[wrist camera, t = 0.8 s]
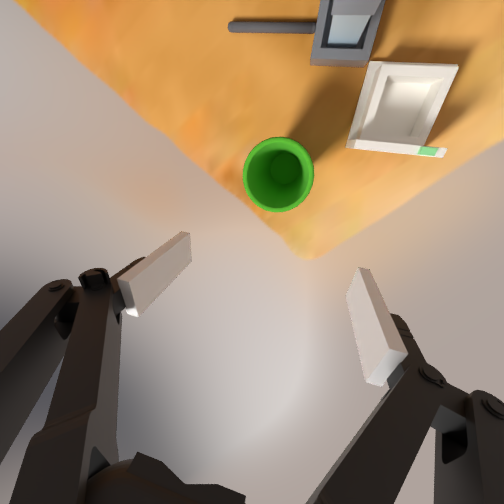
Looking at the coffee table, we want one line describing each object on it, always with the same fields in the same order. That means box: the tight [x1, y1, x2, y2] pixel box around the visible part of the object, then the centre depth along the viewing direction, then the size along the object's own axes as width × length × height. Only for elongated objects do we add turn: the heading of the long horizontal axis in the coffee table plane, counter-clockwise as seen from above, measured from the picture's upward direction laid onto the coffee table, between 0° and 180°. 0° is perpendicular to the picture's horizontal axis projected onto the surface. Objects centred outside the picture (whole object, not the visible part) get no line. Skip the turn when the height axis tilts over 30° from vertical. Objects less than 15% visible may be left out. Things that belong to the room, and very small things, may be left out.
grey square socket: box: [310, 0, 385, 67], centre depth 25 cm, size 7×7×3 cm
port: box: [345, 61, 459, 158], centre depth 25 cm, size 10×10×8 cm
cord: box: [228, 22, 316, 34], centre depth 27 cm, size 1×12×1 cm, turn 84°
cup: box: [243, 137, 314, 212], centre depth 30 cm, size 9×9×11 cm
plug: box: [327, 0, 381, 47], centre depth 21 cm, size 4×4×10 cm
